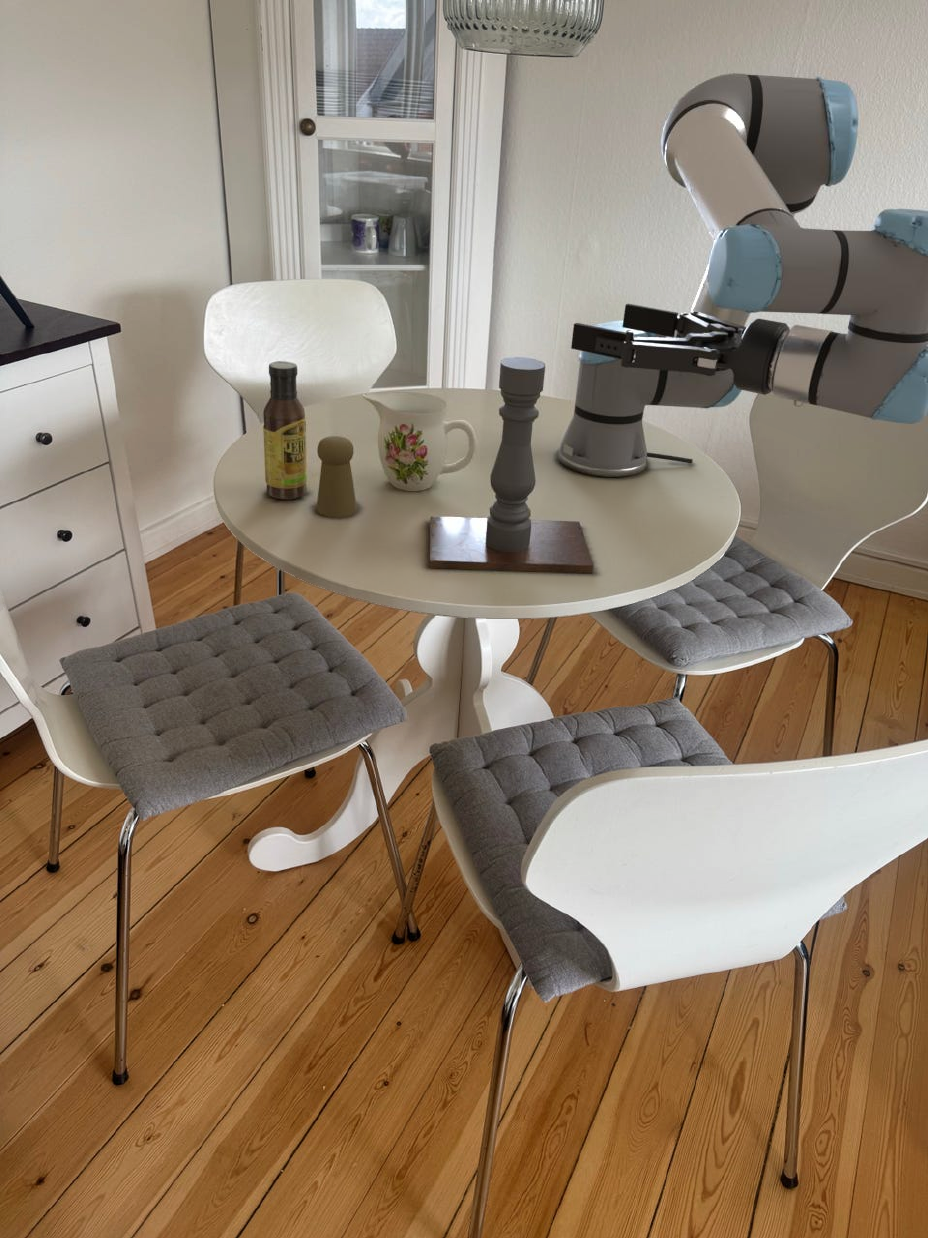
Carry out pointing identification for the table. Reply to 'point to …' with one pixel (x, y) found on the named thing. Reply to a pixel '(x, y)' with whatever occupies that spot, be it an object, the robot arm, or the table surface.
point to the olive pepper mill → (336, 478)
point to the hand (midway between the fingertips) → (600, 324)
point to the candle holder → (515, 455)
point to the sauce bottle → (284, 435)
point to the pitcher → (416, 438)
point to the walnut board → (547, 552)
